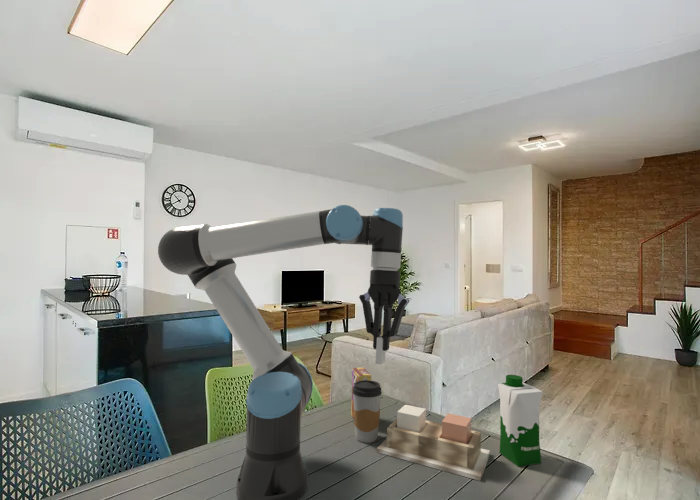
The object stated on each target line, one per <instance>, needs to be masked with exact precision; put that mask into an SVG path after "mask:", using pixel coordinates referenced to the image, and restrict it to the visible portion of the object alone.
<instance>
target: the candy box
mask: <svg viewBox="0 0 700 500" xmlns="http://www.w3.org/2000/svg"><path fill="white" fill-rule="evenodd" d="M351 376H352V377H351V380H352V381H351V409H350V410H351V411H350V412H351V413H350V415H351V417H352V419H353V420H354V399H353V392H352V391H353V387H354V384H355V382H357V381H362V380H370V381H372V375H371V373H370V372H369V371H368V370H367V369H366V368H365V367H353V368H352V375H351Z"/></svg>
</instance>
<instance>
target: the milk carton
mask: <svg viewBox="0 0 700 500" xmlns="http://www.w3.org/2000/svg"><path fill="white" fill-rule="evenodd" d="M497 387H498V394H499V400H500V402H499V403H500V407H499V409H500V412H499V413H500V419H499V421H500V426H499V427H500V436H499V437H500V438H499V454H501V455H502V456H503V457H504V458H506V459H507V460H508V461H510V462H511V463H512V464H514V465H515V466H516V467H524V466H531V465H537V464H538V465H539V464H542V455H541V445H540V406H541V401H542V397H543V394H544V391H543V390H540V389H538V388H537V387H536V386H532V385H531V384H527V383H525V382H523V376H521V375H516V374H508V375H505V382H502V383H498V384H497Z"/></svg>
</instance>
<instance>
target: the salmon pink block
mask: <svg viewBox="0 0 700 500" xmlns="http://www.w3.org/2000/svg"><path fill="white" fill-rule="evenodd" d="M441 424H442V438H443V439H447V440H451V441H455V442H460V443H464V444H469V442H470V440H471V430H472V417H467V416H463V415H458V414H453V413H447V414H446V415H445V416H444V418H443V419H442V420H441Z"/></svg>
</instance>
